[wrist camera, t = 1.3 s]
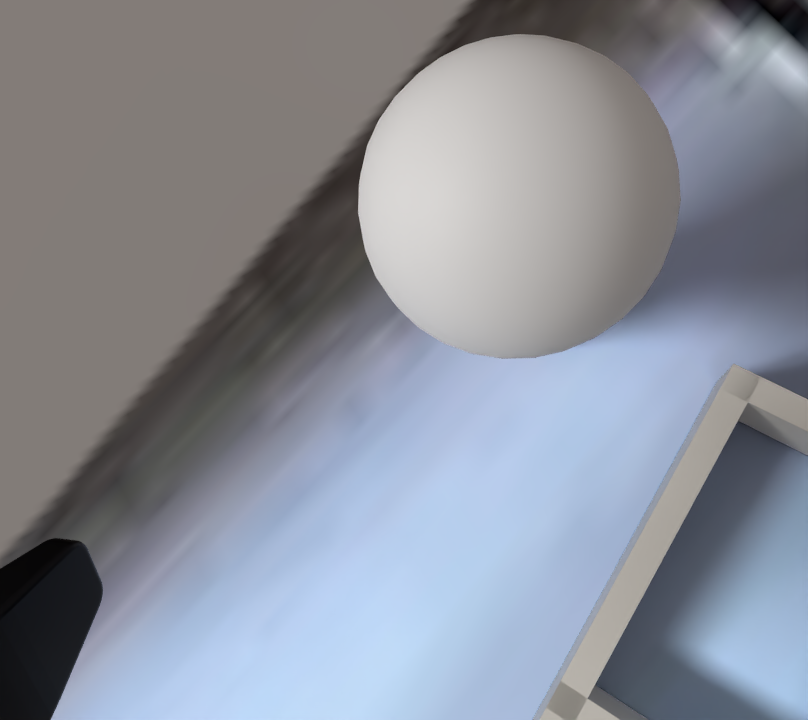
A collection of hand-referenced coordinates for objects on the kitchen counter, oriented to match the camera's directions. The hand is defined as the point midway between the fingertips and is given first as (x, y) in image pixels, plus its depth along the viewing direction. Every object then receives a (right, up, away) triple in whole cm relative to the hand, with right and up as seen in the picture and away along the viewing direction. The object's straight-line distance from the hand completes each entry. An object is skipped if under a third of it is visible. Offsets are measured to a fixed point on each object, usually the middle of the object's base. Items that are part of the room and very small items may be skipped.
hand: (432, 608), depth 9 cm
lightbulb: (+4, +4, +14) cm, 15 cm away
